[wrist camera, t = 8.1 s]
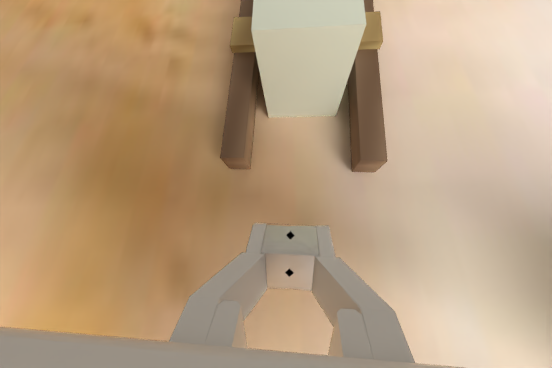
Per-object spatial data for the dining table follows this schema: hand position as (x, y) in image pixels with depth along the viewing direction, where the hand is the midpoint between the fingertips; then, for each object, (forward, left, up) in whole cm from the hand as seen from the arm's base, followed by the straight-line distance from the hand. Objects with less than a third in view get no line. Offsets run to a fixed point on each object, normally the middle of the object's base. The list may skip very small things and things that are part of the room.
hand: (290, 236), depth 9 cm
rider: (0, +15, -5) cm, 16 cm away
